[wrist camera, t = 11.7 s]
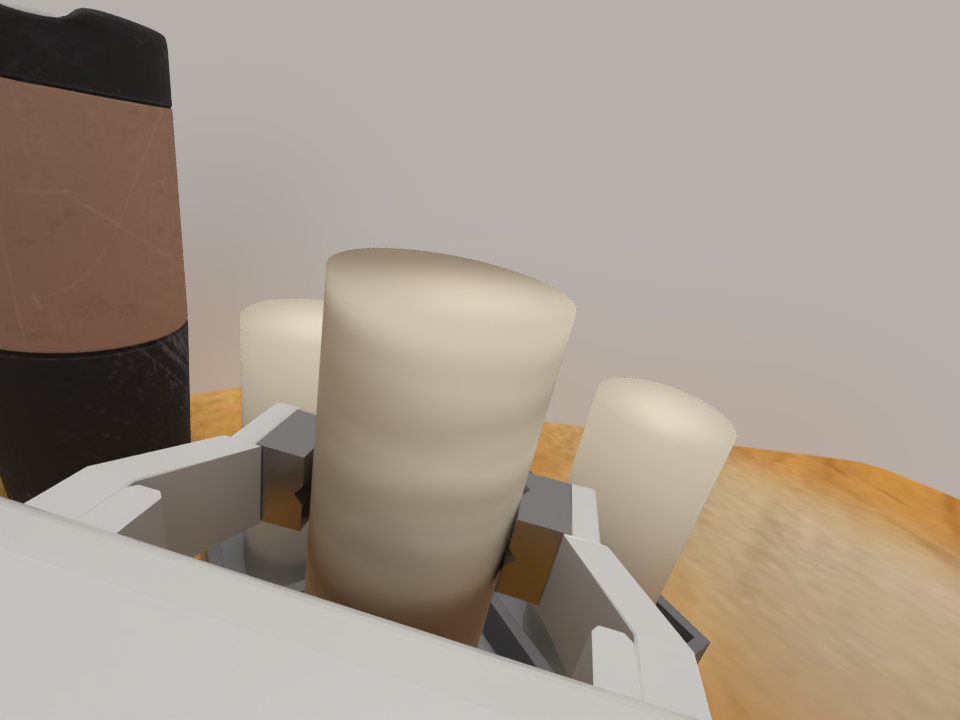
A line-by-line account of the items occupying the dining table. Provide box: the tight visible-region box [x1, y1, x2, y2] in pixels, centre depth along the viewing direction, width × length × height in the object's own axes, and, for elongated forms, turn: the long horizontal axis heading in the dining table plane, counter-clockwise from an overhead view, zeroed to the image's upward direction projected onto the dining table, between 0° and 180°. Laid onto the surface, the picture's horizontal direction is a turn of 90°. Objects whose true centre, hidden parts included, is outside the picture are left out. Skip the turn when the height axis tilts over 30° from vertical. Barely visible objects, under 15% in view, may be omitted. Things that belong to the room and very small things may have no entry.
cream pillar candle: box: [304, 248, 576, 648], centre depth 9 cm, size 4×4×10 cm
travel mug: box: [0, 1, 191, 504], centre depth 19 cm, size 8×8×20 cm
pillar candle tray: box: [201, 298, 737, 678], centre depth 17 cm, size 14×14×12 cm
